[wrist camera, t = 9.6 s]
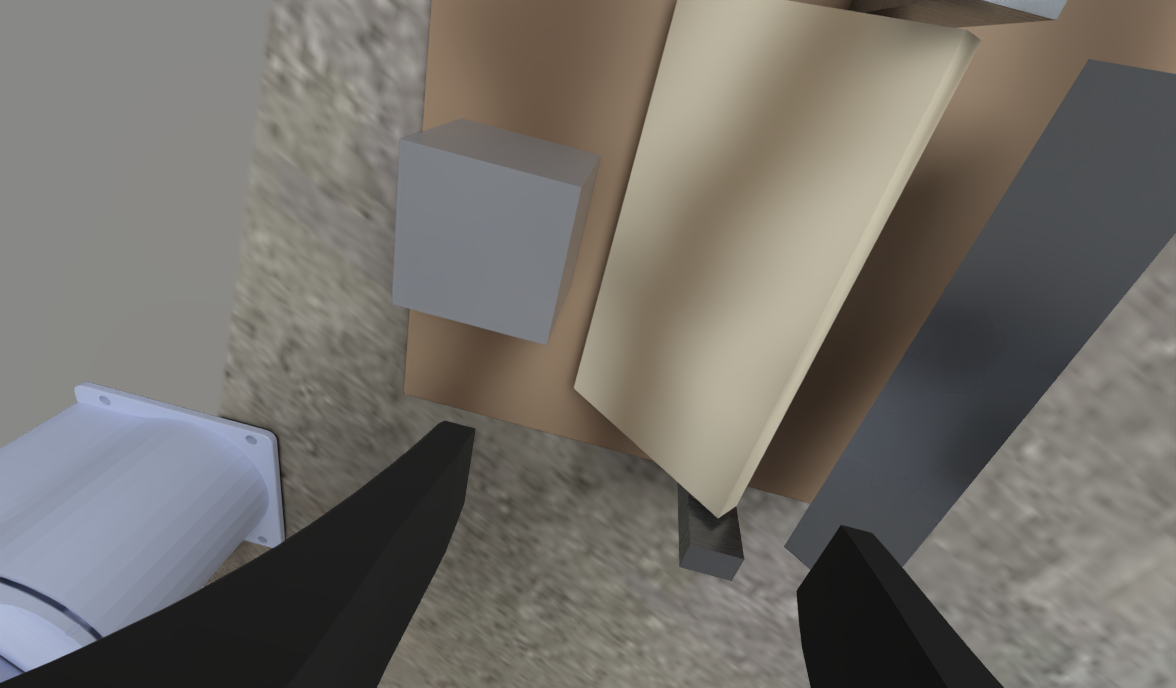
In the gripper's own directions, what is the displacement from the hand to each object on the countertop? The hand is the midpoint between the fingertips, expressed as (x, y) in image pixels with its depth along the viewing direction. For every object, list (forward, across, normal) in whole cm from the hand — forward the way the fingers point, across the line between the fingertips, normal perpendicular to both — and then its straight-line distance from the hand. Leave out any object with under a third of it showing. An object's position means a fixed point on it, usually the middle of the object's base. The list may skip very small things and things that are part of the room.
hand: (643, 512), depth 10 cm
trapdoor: (+9, -5, -3) cm, 10 cm away
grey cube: (+8, +3, -2) cm, 8 cm away
